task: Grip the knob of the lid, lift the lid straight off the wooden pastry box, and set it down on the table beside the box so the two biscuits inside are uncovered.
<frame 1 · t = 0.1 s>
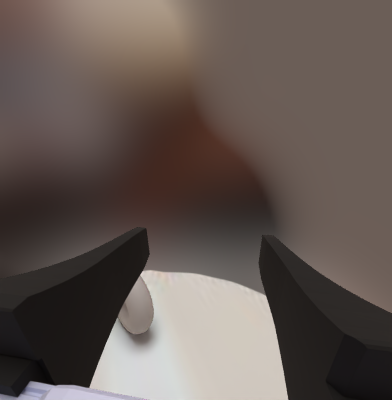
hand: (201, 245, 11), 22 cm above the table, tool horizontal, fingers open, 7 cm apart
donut: (133, 324, 30), on the table
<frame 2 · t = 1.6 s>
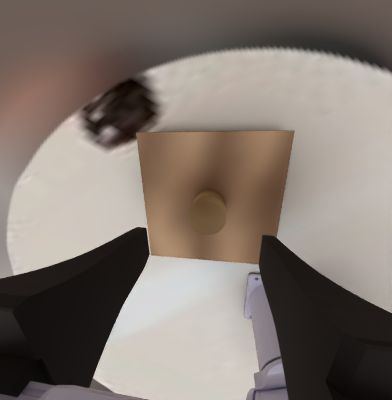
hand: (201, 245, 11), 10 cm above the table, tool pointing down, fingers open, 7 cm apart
lid: (210, 201, 18), point 3 cm above the table, touching box
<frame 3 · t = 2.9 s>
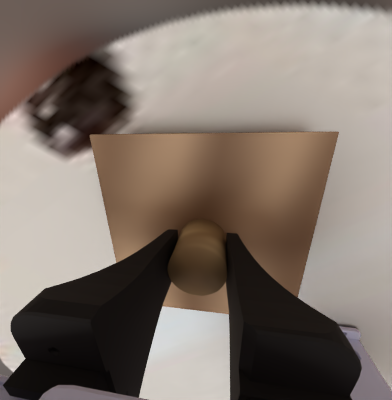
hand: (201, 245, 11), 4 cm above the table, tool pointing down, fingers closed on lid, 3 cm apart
lid: (204, 233, 13), point 3 cm above the table, touching box, gripper
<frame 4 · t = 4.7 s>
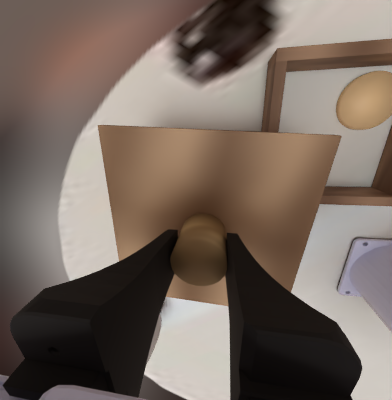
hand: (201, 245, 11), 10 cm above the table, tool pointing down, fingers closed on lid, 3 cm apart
box: (327, 133, 17), on the table
lid: (205, 227, 13), point 9 cm above the table, touching gripper
biscuit a: (361, 103, 16), resting in box
when the fingers open (3 cm above the table, at t = 6.7 s): lid drops 2 cm, on the table.
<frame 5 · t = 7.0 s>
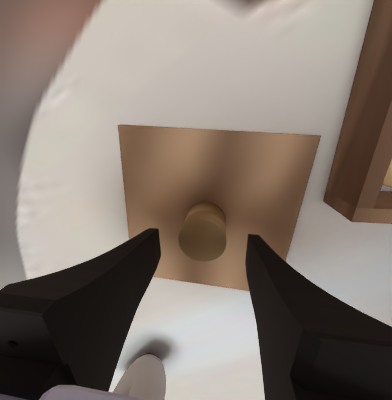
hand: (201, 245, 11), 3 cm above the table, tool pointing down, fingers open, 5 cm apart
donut: (148, 356, 22), on the table
lid: (207, 215, 15), on the table
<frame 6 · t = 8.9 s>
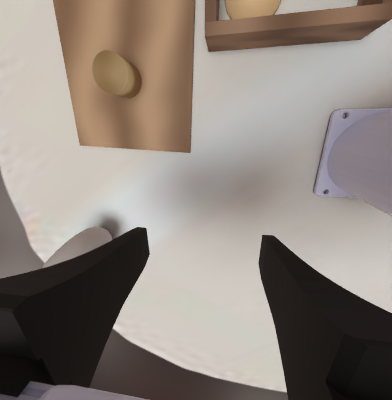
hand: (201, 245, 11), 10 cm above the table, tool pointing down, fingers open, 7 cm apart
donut: (103, 239, 26), on the table
lid: (131, 82, 19), on the table
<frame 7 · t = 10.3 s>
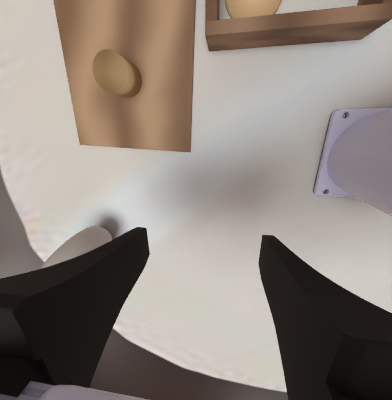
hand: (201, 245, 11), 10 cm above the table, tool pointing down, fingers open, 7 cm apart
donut: (103, 239, 26), on the table
lid: (131, 81, 19), on the table
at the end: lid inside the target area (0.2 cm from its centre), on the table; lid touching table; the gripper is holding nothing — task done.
